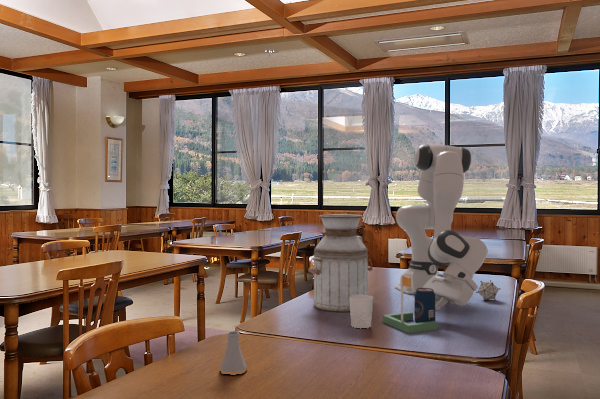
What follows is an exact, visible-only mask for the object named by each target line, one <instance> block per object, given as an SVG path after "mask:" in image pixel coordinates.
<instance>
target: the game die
mask: <svg viewBox="0 0 600 399" xmlns="http://www.w3.org/2000/svg"><path fill="white" fill-rule="evenodd" d="M499 290H501V288H500V287H499V288H498V287H497V286H496V285H495V284H494V282H492V280H491V279H490V281H482V280H480V285H479V287H478V289H477V291H475V293H476V294H479V295H480V297H482V298H483V300H484V302H486V301H487V300H494V301H496V300H497V299H496V296H497V294H498V291H499Z"/></svg>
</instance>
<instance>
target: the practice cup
mask: <svg viewBox="0 0 600 399" xmlns="http://www.w3.org/2000/svg"><path fill="white" fill-rule="evenodd" d="M400 278H401V291H400V312H398V313H390V314H383V315H382V323H383V322H384V324H386V325H388V326H390V327H392V326H393V327H392V328H395V329H397V330H399V331H401V332H404V333H406V334H414V333H422V332H429V331H435V330H436V331H437V330H439V328H438V321H437V320H435V321H430V322H422V323H416V322H415V323H407V322H408V321H413V320H414V312H412V311H406V312H404V292H403V285H404V286H407V287H411V278H409V277H405V276H403V275H402V274H401V275H400ZM406 321H407V322H406Z"/></svg>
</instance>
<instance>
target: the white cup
mask: <svg viewBox="0 0 600 399" xmlns="http://www.w3.org/2000/svg"><path fill="white" fill-rule="evenodd" d="M349 301H350V313H349V315H350V325H351V326H352V327H351V328H353V327H354V328H353V329H356V328H360V329H359V330H362V329H361V328H367V329H370V328H371V327H372V319H373V305H374V304H373V302H374V297H373V296H372V295H370V294H368V295H351V296H350V297H349ZM369 327H370V328H369Z"/></svg>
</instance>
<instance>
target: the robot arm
mask: <svg viewBox="0 0 600 399" xmlns="http://www.w3.org/2000/svg"><path fill="white" fill-rule="evenodd" d="M414 163H415V166H416V168H417V169H418V170H421V171H420V176H419V180H418V187H417V194H418V196H419V197H420V198H421V199H423V200H424V201H426V202H425V204H408V205H403V206H400V207H399V208H398V210H397V211H396V215H395V220H396V224H397V225H398V227H400V229H402V230H403V231H404V232H405V233H406V234H407V236H408V238H409V240H410V245H411V260H408V263H409V266H408V268H407V270H405V272H404V271H403V273H402V274H401V275H403V276H405V277H409V278H411V287H407V286H404V285H403V293H405V294H406V295H407V294H409V295H415V292H416V289H417V288H430V289H433V290H434V293H435V311H439V310H440V309H441V308H442V307H444V306H445V305H447V304H448V303H451V304H454V305H457V306H461V307H463V306H465V305H467V304H468V303H469V301H470V300H471V298H472V297H473V296H474V293H475V292H477V291H478V289H479V286H478V284H477V283H476V282H475V281H474V280H473V277H474V275H475V273H476V272H477V271H478V270H479V269H480V268H481V266H482V265H483V263H484V262H485V261H486V258H487V256H488V251H489V250H488V248H487V245H486V244H485V242H483V240H481V239H480V238H479V237H475V236H474V237H473V236H466V235H462V234H460V233H458V232H456V231H455V230H452V223H453V221H454V211H455V209H456V208H457V205H458V203H459V201H460V200H461V198H462V195H463V191H464V174H465V173H467V172H468V170H469V169H470V167H471V164H472V154H471V151H470V150H469V149H467V148H465V147H461V146H459V147H458V146H453V145H448V144H447V145H446V144H444V145H443V144H441V145H440V144H428V143H427V144H421V145H419V146H418V147H417V149H416V151H415V153H414ZM426 230H433V235H432V238H431V237H430V236H428V235H427V233H426ZM439 267H446V269H445V270H444V272H443V273H442V274H440V272H439V271H438V269H439ZM399 280H400V281H399V284H396V285H394V289H396V290H399V291H400V292H401V277H400V278H399Z"/></svg>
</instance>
